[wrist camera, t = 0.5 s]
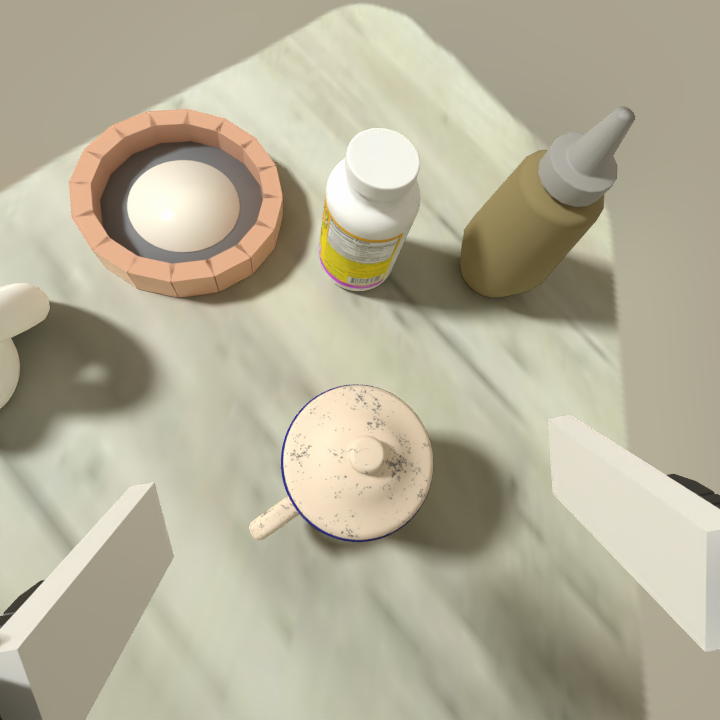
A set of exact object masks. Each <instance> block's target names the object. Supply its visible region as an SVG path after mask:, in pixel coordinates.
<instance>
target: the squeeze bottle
mask: <svg viewBox="0 0 720 720" xmlns="http://www.w3.org/2000/svg"><path fill="white" fill-rule="evenodd" d="M634 120H635V115H634V113H633V112H632V111H631V110H630V109H629V108H626V107H619V108H617V109H616V110H615V111H613V112H612V113H611V114H609V115H608V116H607V117H606V118H604V119H603V120H602V121H601V122H599V123H598V124H597V125H596V126H594V127H593V128H592V129H591V130H589V131H588V132H587V133H586V134H584V133H566V134H564V135H562V136H560V137H557V138H556V140H555V141H554V143H553V144H552V145H551V147H550V148H549V149H548V150H539V151H537V152H535V153H533V154H531V155H529V156H527V157H526V158H525V159H524V160H523V161H522V163H521V164H520V165H519V166H518V167H517V168H516V169H515V170H514V172H513V173H512V174H511V175H510V176H509V177H508V178H507V180H506V181H505V182H504V183H503V184H502V185H501V186H500V188H499V189H498V190H497V191H496V192H495V193H494V194H493V195H492V197H491V198H490V199H489V200H488V201H487V202H486V203H485V205H484V206H483V207H482V208H481V209H480V210H479V211H478V212H477V214H476V215H475V216H474V217H473V218H472V220H471V221H470V222H469V224H468V225H467V226H466V228H465V229H464V235H463V241H462V248H461V258H460V269H461V273H462V277H463V278H464V280H465V281H466V283H467V284H468V285H469V287H470V288H471V289H473V290H474V291H476V292H477V293H479V294H480V295H483V296H487V297H490V298H499V297H506V296H510V295H514V294H518V293H522V292H526V291H529V290H531V289H532V288H534V287H536V286H537V285H539V284H541V283H542V282H543V281H544V280H545V279H546V278H547V276H548V275H549V274H550V273H551V272H552V271H553V270H554V268H555V267H556V266H557V265H558V264H559V263H560V262H561V260H562V259H563V258H564V257H565V256H566V255H567V254H568V252H569V251H570V250H571V249H572V248H573V247H574V246H575V244H576V243H577V242H578V241H579V240H580V239H581V238H582V236H583V235H584V234H585V233H586V232H587V231H588V230H589V228H590V227H591V226H592V225H593V224H594V223H595V222H596V220H597V219H598V217H599V215H600V214H601V212H602V210H603V208H604V194H605V193H606V192H607V191H608V190H609V189H610V188H611V187H612V185H613V183H614V182H615V180H616V179H617V164H616V161H615V159H614V156H613V155H614V153H615V152H616V150H617V148H618V147H619V145H620V143H621V142H622V140H623V138H624V137H625V135H626V133H627V131H628V130H629V128H630V127H631V125H632V123H633V122H634Z"/></svg>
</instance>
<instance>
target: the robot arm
mask: <svg viewBox="0 0 720 720" xmlns="http://www.w3.org/2000/svg"><path fill="white" fill-rule="evenodd" d="M548 426H549V441H550V457H551V472H552V488H553V494H554V495H555V496H556V497H557V498H558V499H559V500H560V502H561V503H562V504H563V505H564V506H565V507H566V508H567V509H568V510H569V511H570V512H571V513H572V514H573V515H574V516H575V517H576V518H577V519H578V520H579V521H580V522H581V523H582V524H583V525H584V526H585V527H586V529H587V530H588V531H589V532H590V533H591V534H592V535H593V536H594V537H595V538H596V539H597V540H598V541H599V542H600V543H601V544H602V545H603V546H604V547H605V548H606V549H607V550H608V551H609V552H610V553H611V554H612V556H613V557H614V558H615V559H616V560H617V561H618V562H619V563H620V564H621V565H622V566H623V567H624V568H625V569H626V570H627V571H628V572H629V573H630V574H631V575H632V576H633V577H634V578H635V579H636V580H637V582H638V583H639V584H640V585H641V586H642V587H643V588H644V589H645V590H646V591H647V592H648V593H649V594H650V595H651V596H652V597H653V598H654V599H655V600H656V601H657V602H658V603H659V604H660V605H661V606H662V607H663V608H664V609H665V611H666V612H667V613H668V614H669V615H670V616H671V617H672V618H673V619H674V620H675V621H676V622H677V623H678V624H679V625H680V626H681V627H682V628H683V629H684V630H685V631H686V632H687V633H688V634H689V636H690V637H691V638H692V639H693V640H694V641H695V642H696V643H697V644H698V645H699V646H700V647H701V648H702V649H703V650H704V651H705V652H707V651H713V650H719V649H720V495H718V494H714V492H713V491H712V490H710V489H708V488H707V487H705V486H703V485H701V484H700V483H698V482H696V481H694V480H690V479H688V478H685V477H682V476H679V475H676V474H671V475H665V474H663V473H662V472H660V471H658V470H657V469H655V468H654V467H652V466H651V465H649V464H647V463H646V462H644V461H643V460H641V459H639V458H638V457H636V456H635V455H633V454H632V453H630V452H628V451H627V450H625V449H624V448H622V447H620V446H619V445H617V444H616V443H614V442H613V441H611V440H609V439H608V438H606V437H605V436H603V435H601V434H600V433H598V432H597V431H595V430H594V429H592V428H590V427H589V426H587V425H586V424H584V423H582V422H581V421H579V420H578V419H576V418H575V417H573V416H571V415H567V416H561V417H555V418H549V419H548ZM173 557H174V555H173V551H172V548H171V544H170V540H169V536H168V532H167V529H166V525H165V521H164V517H163V513H162V510H161V506H160V502H159V498H158V494H157V491H156V487H155V483H154V482H153V483H147V484H141V485H135V486H130V488H129V489H128V490H127V491H126V492H125V493H124V494H123V495H122V496H121V497H120V499H119V500H118V501H117V502H116V503H115V504H114V505H113V506H112V507H111V508H110V509H109V511H108V512H107V513H106V514H105V515H104V516H103V517H102V518H101V519H100V520H99V521H98V523H97V524H96V525H95V526H94V527H93V528H92V529H91V530H90V531H89V532H88V534H87V535H86V536H85V537H84V538H83V539H82V540H81V541H80V542H79V543H78V544H77V546H76V547H75V548H74V549H73V550H72V551H71V552H70V553H69V554H68V555H67V557H66V558H65V559H64V560H63V561H62V562H61V563H60V564H59V565H58V566H57V567H56V569H55V570H54V571H53V572H52V573H51V574H50V575H49V576H48V577H47V578H46V579H45V580H42V581H40V582H38V583H37V584H35V585H34V586H33V587H31V588H30V589H29V590H27V591H26V592H24V593H23V594H22V595H20V596H19V597H18V598H17V599H16V600H15V601H14V602H13V603H12V604H11V605H10V606H9V608H8V609H7V610H6V611H5V612H4V615H3V616H0V720H85V719H86V717H87V715H88V713H89V711H90V710H91V708H92V706H93V704H94V702H95V700H96V699H97V697H98V695H99V693H100V691H101V689H102V688H103V686H104V684H105V682H106V680H107V678H108V677H109V675H110V673H111V671H112V669H113V667H114V666H115V664H116V662H117V660H118V658H119V656H120V655H121V653H122V651H123V649H124V647H125V645H126V644H127V642H128V640H129V638H130V636H131V634H132V633H133V631H134V629H135V627H136V625H137V623H138V622H139V620H140V618H141V616H142V614H143V612H144V610H145V609H146V607H147V605H148V603H149V601H150V599H151V598H152V596H153V594H154V592H155V590H156V588H157V587H158V585H159V583H160V581H161V579H162V577H163V576H164V574H165V572H166V570H167V568H168V566H169V565H170V563H171V561H172V559H173Z"/></svg>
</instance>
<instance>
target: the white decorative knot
mask: <svg viewBox="0 0 720 720" xmlns="http://www.w3.org/2000/svg"><path fill="white" fill-rule="evenodd" d="M49 310H50V306H49V300H48V297H47V296H46V295H45V293H44V292H43V291H42V290H41V289H40V288H38V287H36V286H33V285H31V284H28V283H19V284H8V285H1V286H0V408H1V407H3V406H4V405H5V404H6V403H7V402H8V400H9V399H10V398H11V396H12V395H13V393H14V391H15V389H16V386H17V383H18V379H19V375H20V360H19V356H18V352H17V349H16V347H15V345H14V343H13V341H12V339H11V337H13V336H16V335H18V334H20V333H22V332H24V331H26V330H28V329H30V328H32V327H33V326H35V325H37V324H38V323H40V322H42V321H43V320H44V319H45V318H46V316H47V314H48V312H49Z"/></svg>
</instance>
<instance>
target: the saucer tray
mask: <svg viewBox="0 0 720 720" xmlns="http://www.w3.org/2000/svg"><path fill="white" fill-rule="evenodd" d="M69 182H70V183H69V187H70V201H71V214H72V219H73V220H74V222H75V223H76V225H77V227H78V228H79V230H80V231H81V233H82V235H83V236H84V238H85V239H86V241H87V242H88V244H89V246H90V247H91V249H92V250H93V252H94V253H95V254H96V256H97V257H98V258H99V259H100V261H101V262H102V263H103V265H104V266H105V267H106V268H107V269H108V270H110V271H111V272H113V273H114V274H116V275H117V276H119V277H121V278H122V279H124V280H125V281H127V282H128V283H130V284H131V285H133V286H134V287H136V288H137V289H140V290H144V291H149V292H154V293H158V294H163V295H168V296H173V297H177V298H178V297H179V298H181V297H188V296H196V295H203V294H210V293H218V292H221V291H223V290H225V289H226V288H228V287H230V286H232V285H234V284H236V283H238V282H240V281H241V280H243V279H245V278H247V277H249V276H251V275H253V274H254V273H255V271H256V270H257V269H258V268H259V267H260V265H261V264H262V263H263V262H264V260H265V259H266V258H267V257H268V256H269V254H270V253H271V252H272V251H273V250H274V248H275V246H276V242H277V238H278V234H279V230H280V227H281V223H282V219H283V196H282V191H281V186H280V182H279V177H278V172H277V167H276V165H275V163H274V162H273V161H272V159H271V158H270V157H269V155H268V154H267V153H266V151H265V150H264V148H263V147H262V146H261V144H260V143H259V142H258V140H257V139H255V137H253V136H252V135H250V134H249V133H247V132H245V131H244V130H242V129H241V128H239V127H237V126H236V125H234V124H233V123H231V122H230V121H228V120H226V119H225V118H221V117H217V116H213V115H209V114H205V113H201V112H197V111H193V110H189V109H188V110H187V109H182V110H163V111H149V112H145V113H142V114H140V115H137V116H135V117H132V118H129V119H127V120H124V121H121V122H119V123H116V124H114V125H113V126H110V127H109V128H108V129H107V130H106V131H105V132H103V133H102V134H101V135H100V136H99V137H98V138H97V139H95V140H94V141H93V142H92V143H91V144H90V145H89V146H87V147H86V148H85V149H84V150H83V152H82V155H81V157H80V159H79V161H78V164H77V166H76V168H75V170H74V173H73V175H72V177H71V179H70V181H69ZM218 290H219V291H218Z"/></svg>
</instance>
